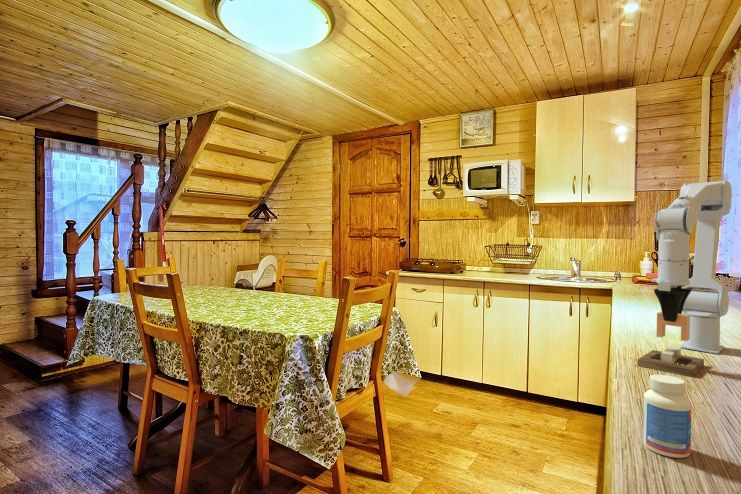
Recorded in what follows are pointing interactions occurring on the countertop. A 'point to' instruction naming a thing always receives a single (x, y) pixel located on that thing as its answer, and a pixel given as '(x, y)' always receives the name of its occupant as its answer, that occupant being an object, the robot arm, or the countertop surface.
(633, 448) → the countertop surface
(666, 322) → the orange block
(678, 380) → the pill bottle
